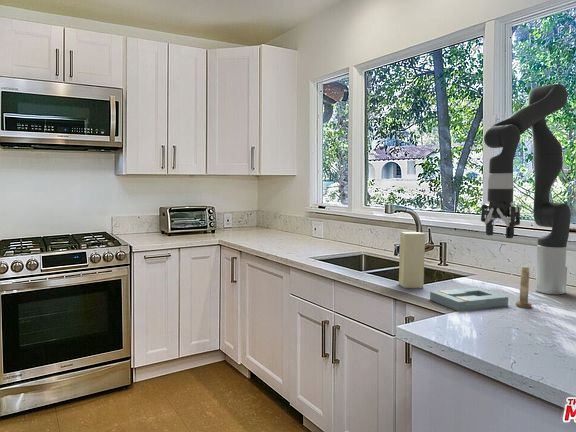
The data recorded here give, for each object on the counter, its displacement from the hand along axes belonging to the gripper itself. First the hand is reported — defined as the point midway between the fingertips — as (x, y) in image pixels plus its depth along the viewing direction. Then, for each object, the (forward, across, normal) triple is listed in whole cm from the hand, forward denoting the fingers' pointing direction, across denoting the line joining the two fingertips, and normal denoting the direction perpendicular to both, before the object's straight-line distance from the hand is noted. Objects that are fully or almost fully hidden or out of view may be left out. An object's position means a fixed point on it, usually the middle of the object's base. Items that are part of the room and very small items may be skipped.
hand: (499, 236), depth 144 cm
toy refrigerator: (+23, +31, +13) cm, 41 cm away
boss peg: (+23, -5, -6) cm, 24 cm away
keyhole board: (+22, +4, +8) cm, 24 cm away
